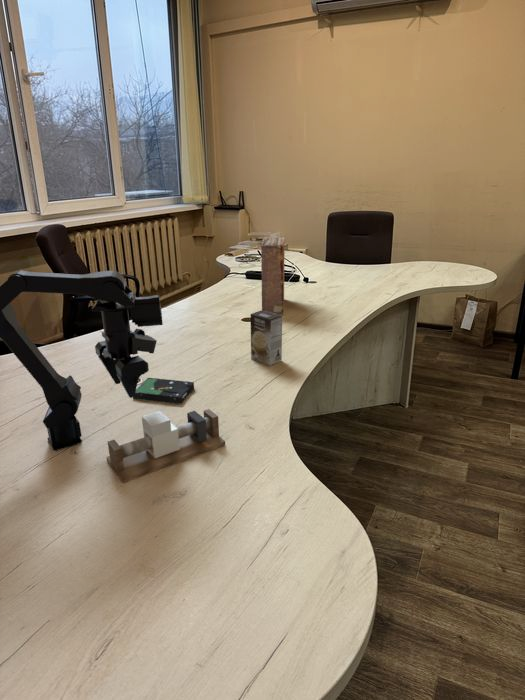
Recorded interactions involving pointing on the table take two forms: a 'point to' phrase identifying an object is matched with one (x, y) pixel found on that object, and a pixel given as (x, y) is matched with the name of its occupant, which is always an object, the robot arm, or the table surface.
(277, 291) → the book
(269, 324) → the coffee box
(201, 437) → the dark square collar
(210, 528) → the table surface
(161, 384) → the disk drive
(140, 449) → the pipe rig
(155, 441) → the sleeve
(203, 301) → the table surface
